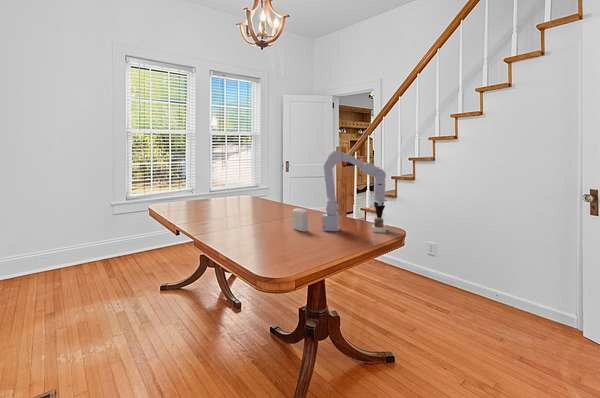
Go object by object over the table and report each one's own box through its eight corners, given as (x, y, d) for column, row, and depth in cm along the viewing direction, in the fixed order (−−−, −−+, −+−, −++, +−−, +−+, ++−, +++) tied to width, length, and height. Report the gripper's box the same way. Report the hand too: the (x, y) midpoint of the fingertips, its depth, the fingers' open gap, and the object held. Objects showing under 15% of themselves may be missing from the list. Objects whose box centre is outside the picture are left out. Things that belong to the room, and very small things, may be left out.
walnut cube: (374, 227, 177) (374, 219, 176) (374, 225, 181) (374, 218, 181) (383, 227, 176) (383, 220, 175) (382, 225, 180) (382, 218, 180)
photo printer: (291, 229, 187) (291, 207, 185) (297, 227, 189) (297, 206, 187) (303, 232, 179) (302, 210, 177) (309, 231, 182) (308, 209, 180)
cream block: (372, 232, 177) (372, 227, 176) (372, 229, 183) (372, 224, 183) (385, 233, 175) (385, 227, 175) (385, 230, 182) (385, 224, 181)
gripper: (388, 193, 168) (387, 219, 170) (386, 190, 182) (385, 213, 184) (374, 193, 169) (373, 219, 171) (373, 189, 183) (372, 213, 185)
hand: (378, 216), depth 178 cm, fingers open, 7 cm apart
